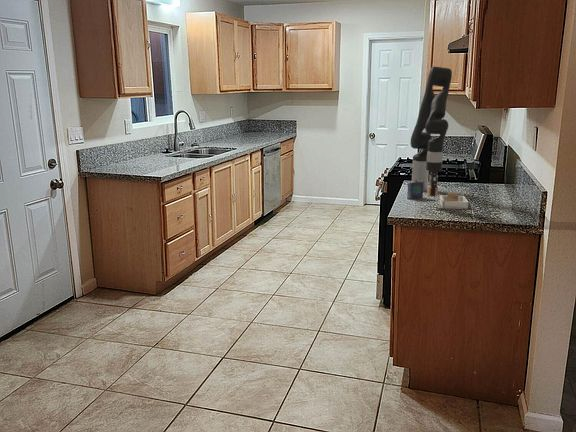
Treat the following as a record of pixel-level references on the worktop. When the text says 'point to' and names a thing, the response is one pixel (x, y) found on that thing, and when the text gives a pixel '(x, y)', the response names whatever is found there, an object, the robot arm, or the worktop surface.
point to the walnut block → (452, 196)
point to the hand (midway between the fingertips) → (432, 194)
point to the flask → (415, 189)
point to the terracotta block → (430, 192)
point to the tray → (453, 203)
